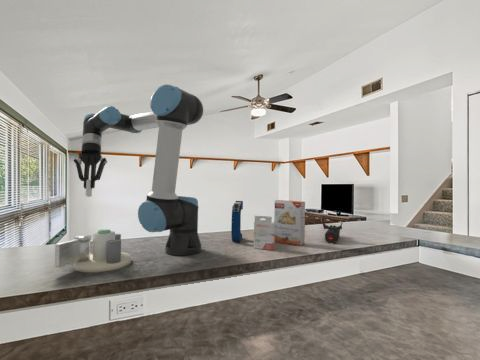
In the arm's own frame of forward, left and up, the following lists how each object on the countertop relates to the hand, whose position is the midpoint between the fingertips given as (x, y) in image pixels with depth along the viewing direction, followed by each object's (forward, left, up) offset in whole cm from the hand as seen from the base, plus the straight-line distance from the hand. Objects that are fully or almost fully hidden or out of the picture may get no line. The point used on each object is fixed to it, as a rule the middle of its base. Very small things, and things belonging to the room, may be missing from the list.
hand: (88, 195), depth 112 cm
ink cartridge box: (-72, -19, -23) cm, 78 cm away
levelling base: (-16, +14, -23) cm, 31 cm away
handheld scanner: (-58, -33, -23) cm, 71 cm away
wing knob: (-10, +21, -21) cm, 31 cm away
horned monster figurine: (-108, -44, -24) cm, 119 cm away
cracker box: (-84, -31, -23) cm, 92 cm away
